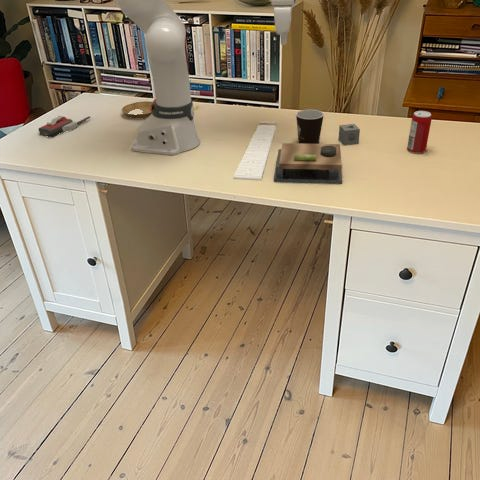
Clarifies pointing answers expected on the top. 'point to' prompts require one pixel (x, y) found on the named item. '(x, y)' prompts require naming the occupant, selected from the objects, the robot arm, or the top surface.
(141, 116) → the plant saucer
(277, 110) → the top surface
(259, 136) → the keyboard
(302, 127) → the coffee mug
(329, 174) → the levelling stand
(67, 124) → the toy chainsaw
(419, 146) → the soda can
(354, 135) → the dice cube
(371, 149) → the top surface
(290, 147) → the levelling board
